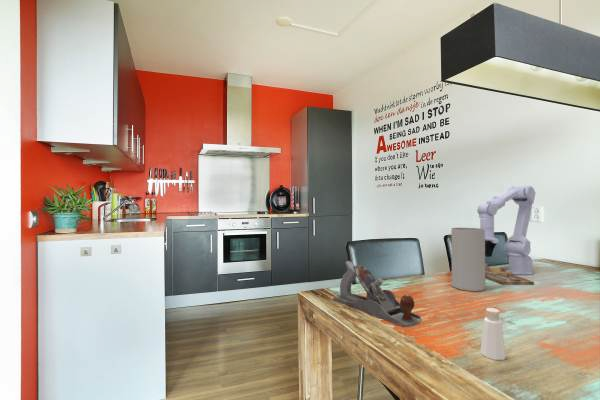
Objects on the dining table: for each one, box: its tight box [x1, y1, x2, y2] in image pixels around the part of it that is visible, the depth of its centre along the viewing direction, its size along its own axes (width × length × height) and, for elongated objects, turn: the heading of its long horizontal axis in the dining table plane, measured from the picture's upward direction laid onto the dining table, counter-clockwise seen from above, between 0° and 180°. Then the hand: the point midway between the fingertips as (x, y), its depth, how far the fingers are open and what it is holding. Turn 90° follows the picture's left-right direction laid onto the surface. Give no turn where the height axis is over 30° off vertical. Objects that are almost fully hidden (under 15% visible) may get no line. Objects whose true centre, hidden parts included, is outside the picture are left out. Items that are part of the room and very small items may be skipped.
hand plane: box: [332, 260, 422, 328], centre depth 109 cm, size 9×33×15 cm, turn 35°
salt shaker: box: [479, 307, 507, 361], centre depth 77 cm, size 5×5×11 cm
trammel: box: [485, 263, 509, 282], centre depth 150 cm, size 9×21×4 cm, turn 0°
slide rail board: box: [485, 270, 535, 286], centre depth 150 cm, size 14×22×1 cm, turn 0°
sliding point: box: [489, 266, 513, 276], centre depth 148 cm, size 9×2×4 cm, turn 90°
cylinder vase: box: [451, 227, 486, 292], centre depth 135 cm, size 12×12×25 cm
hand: (487, 256), depth 154 cm, fingers open, 2 cm apart
